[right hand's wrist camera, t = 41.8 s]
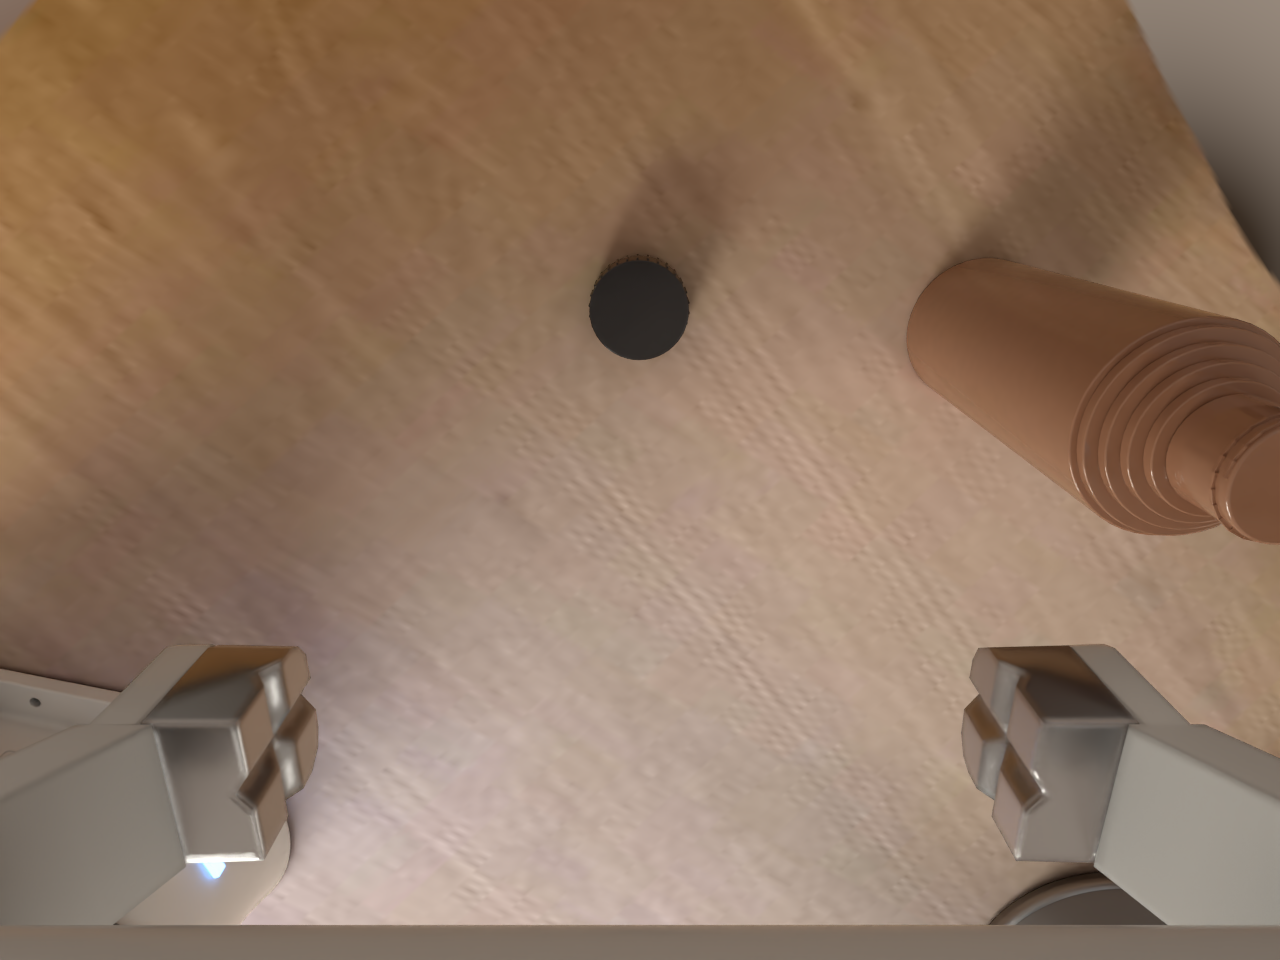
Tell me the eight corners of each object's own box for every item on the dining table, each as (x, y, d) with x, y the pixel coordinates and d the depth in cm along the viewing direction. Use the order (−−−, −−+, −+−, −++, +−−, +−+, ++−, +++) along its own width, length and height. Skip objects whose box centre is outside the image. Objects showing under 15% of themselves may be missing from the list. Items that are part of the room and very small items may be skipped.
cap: (583, 261, 39) (580, 266, 37) (681, 247, 39) (683, 252, 37) (598, 357, 41) (596, 367, 39) (692, 344, 40) (695, 354, 38)
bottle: (1072, 276, 39) (1497, 383, 20) (1017, 412, 42) (1350, 629, 22) (934, 242, 39) (1232, 320, 19) (887, 383, 41) (1109, 578, 22)
